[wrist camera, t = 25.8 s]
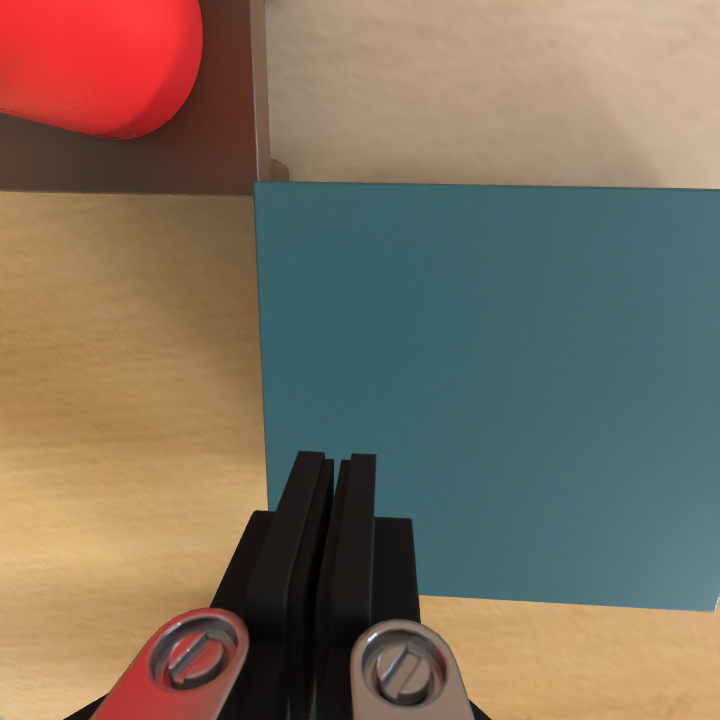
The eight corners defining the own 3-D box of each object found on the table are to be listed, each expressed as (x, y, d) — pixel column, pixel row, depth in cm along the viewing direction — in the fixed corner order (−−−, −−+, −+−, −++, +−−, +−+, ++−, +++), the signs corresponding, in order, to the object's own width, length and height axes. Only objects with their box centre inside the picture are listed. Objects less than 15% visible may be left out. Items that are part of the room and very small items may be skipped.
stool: (102, 197, 21) (-10, 190, 15) (69, -45, 18) (-83, -165, 12) (299, 201, 20) (259, 195, 14) (294, -50, 18) (243, -179, 12)
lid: (276, 570, 17) (270, 587, 16) (259, 182, 13) (251, 180, 12) (700, 595, 17) (716, 613, 16) (823, 192, 12) (851, 190, 12)
